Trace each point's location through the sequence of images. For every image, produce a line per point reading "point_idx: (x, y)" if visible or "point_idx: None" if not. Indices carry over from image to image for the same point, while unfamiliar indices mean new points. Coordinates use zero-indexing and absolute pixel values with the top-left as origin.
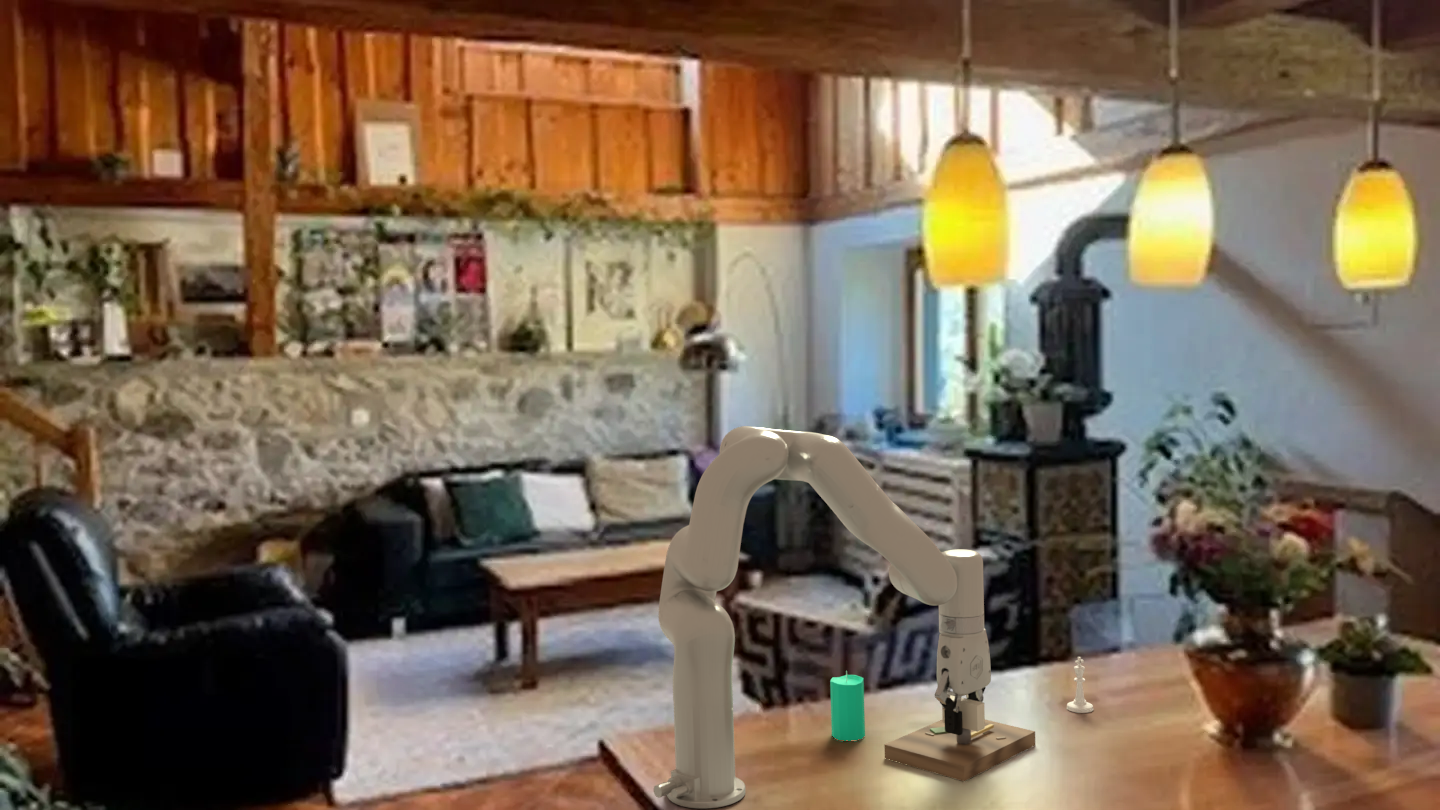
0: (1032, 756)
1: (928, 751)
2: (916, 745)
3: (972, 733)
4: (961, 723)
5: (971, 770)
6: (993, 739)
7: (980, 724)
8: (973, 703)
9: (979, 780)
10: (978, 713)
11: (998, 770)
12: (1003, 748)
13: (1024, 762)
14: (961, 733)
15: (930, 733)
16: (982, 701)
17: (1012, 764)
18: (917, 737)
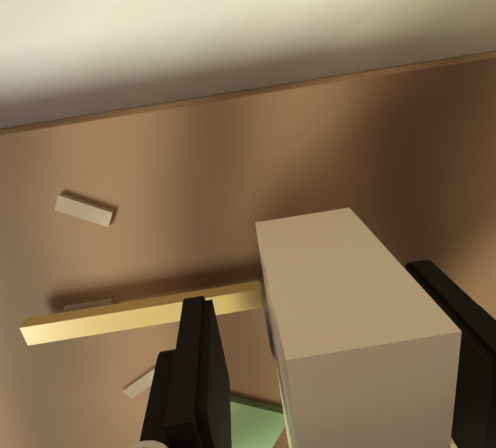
0: (2, 48)
1: (486, 298)
2: None
3: (215, 305)
4: (458, 299)
5: (483, 55)
6: (130, 225)
7: (321, 230)
8: (402, 408)
9: (467, 3)
10: (387, 276)
11: (294, 32)
12: (175, 106)
13: (102, 15)
14: (421, 261)
15: None
16: (129, 446)
17: (175, 41)
18: None
